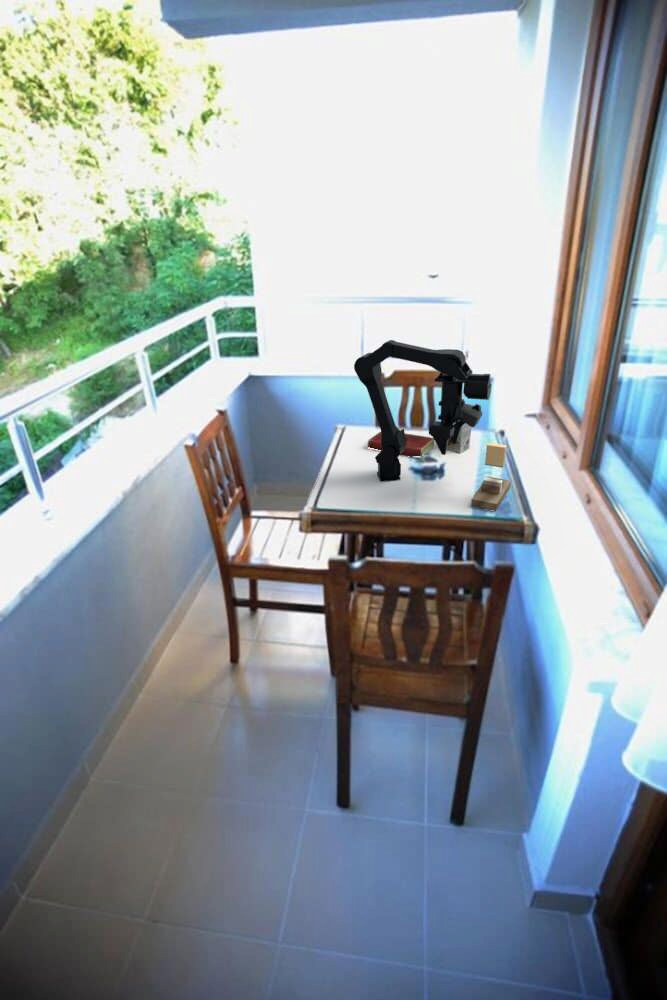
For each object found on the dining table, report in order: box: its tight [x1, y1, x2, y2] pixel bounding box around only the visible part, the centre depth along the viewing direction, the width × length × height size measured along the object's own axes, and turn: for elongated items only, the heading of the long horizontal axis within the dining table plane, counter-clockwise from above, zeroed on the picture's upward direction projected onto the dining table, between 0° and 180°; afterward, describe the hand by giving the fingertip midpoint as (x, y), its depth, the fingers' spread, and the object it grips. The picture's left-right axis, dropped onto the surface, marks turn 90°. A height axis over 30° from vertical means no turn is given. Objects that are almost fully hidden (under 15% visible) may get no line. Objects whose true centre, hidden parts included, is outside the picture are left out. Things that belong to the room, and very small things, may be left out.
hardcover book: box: [367, 431, 435, 458], centre depth 181 cm, size 12×21×4 cm, turn 58°
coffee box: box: [440, 403, 474, 454], centre depth 176 cm, size 9×6×16 cm
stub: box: [484, 442, 508, 469], centre depth 140 cm, size 5×2×6 cm, turn 59°
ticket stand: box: [470, 476, 512, 512], centre depth 145 cm, size 7×16×6 cm, turn 149°
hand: (449, 448), depth 148 cm, fingers open, 9 cm apart
